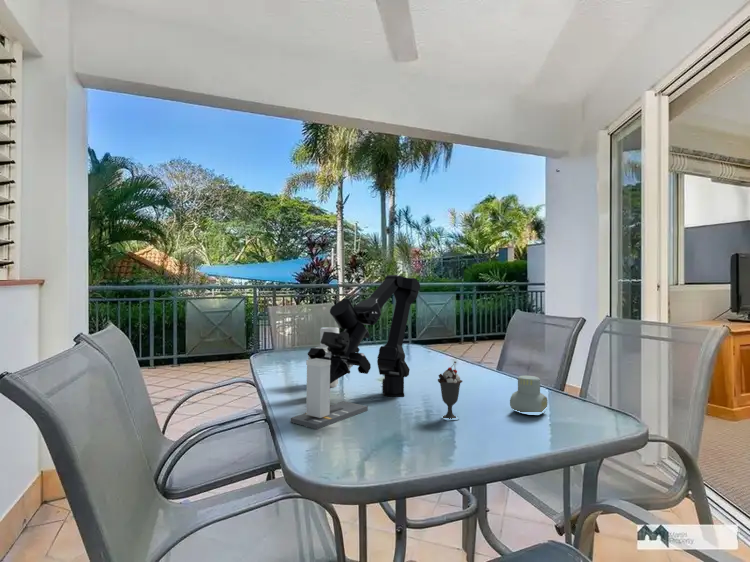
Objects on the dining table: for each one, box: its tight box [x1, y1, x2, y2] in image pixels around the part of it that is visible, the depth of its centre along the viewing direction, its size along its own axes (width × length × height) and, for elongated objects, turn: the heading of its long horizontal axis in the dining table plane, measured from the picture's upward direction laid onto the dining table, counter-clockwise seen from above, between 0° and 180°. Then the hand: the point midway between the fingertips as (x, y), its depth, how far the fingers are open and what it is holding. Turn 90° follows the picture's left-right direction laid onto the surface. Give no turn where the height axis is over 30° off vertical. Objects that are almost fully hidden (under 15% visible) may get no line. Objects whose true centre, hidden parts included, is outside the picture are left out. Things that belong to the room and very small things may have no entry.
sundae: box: [437, 361, 463, 419], centre depth 118 cm, size 7×7×15 cm
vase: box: [314, 326, 340, 388], centre depth 156 cm, size 11×7×20 cm, turn 170°
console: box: [289, 400, 369, 430], centre depth 118 cm, size 21×9×1 cm, turn 145°
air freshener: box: [509, 375, 548, 412], centre depth 123 cm, size 11×8×10 cm
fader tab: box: [305, 358, 331, 418], centre depth 114 cm, size 4×5×14 cm
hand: (323, 385), depth 116 cm, fingers closed, pressing on fader tab
